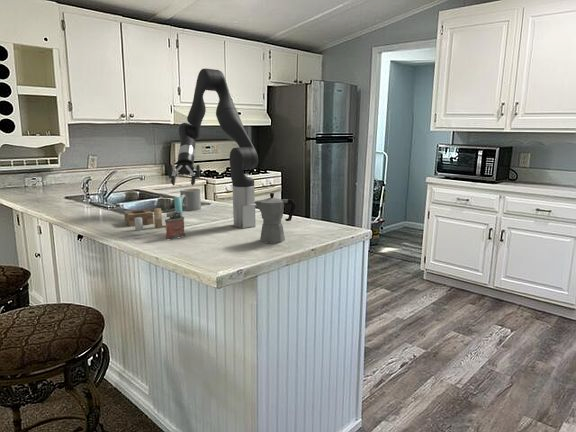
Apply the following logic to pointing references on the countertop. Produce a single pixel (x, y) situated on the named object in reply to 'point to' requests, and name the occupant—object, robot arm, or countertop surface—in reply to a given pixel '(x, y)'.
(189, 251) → the countertop surface
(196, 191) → the coffee mug
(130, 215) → the walnut block
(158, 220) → the beech pin
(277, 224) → the coffeepot
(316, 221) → the countertop surface
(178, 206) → the teal pin
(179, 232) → the lighter
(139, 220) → the grey pin
